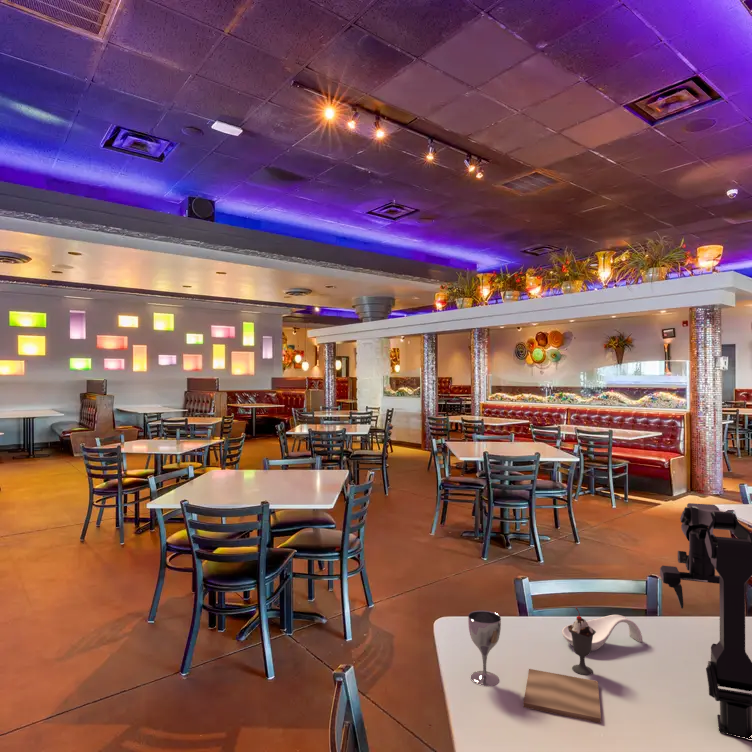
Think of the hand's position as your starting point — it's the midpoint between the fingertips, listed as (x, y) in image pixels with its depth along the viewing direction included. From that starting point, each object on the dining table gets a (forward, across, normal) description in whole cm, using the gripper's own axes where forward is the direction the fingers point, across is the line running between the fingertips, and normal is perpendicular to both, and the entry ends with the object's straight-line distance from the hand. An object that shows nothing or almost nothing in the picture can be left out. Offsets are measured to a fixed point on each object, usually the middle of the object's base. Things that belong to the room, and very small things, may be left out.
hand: (701, 610), depth 136 cm
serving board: (+11, +34, +29) cm, 46 cm away
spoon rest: (+15, +24, -4) cm, 29 cm away
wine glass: (+12, +53, +27) cm, 60 cm away
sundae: (+13, +30, +14) cm, 36 cm away
